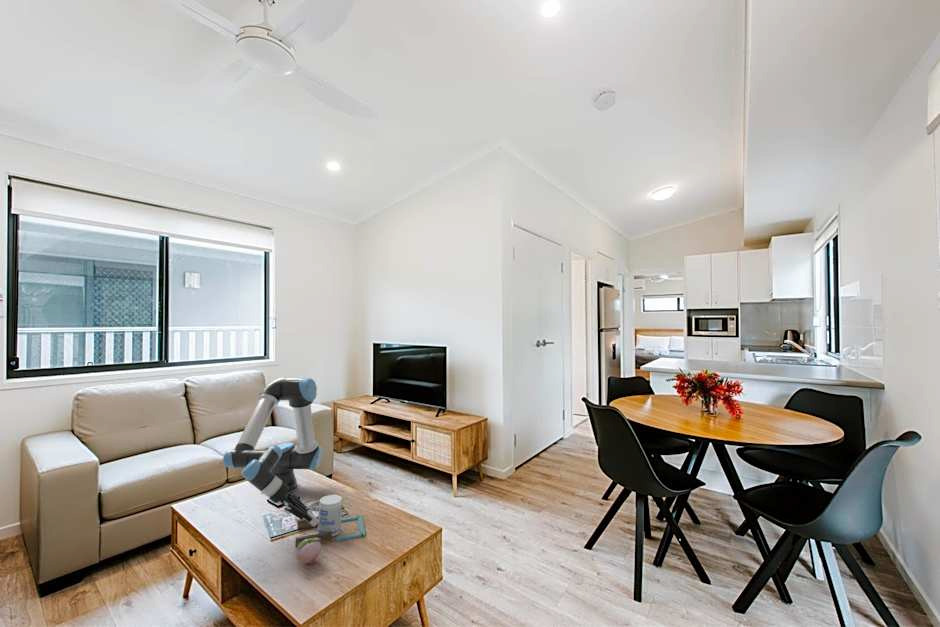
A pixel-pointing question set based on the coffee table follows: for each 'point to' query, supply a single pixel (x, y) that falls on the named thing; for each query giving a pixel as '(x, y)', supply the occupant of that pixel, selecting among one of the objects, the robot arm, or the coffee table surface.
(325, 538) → the channel walls
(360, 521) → the frame
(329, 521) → the supplement tub
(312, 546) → the decorative fruit
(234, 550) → the coffee table surface
